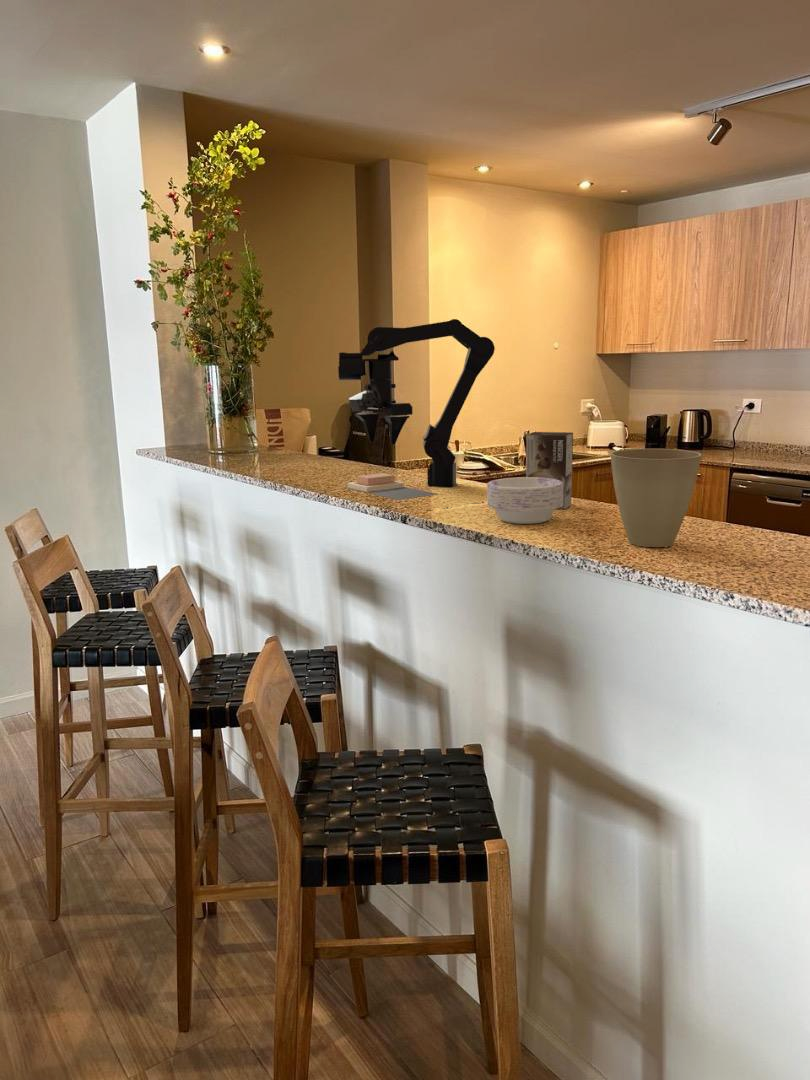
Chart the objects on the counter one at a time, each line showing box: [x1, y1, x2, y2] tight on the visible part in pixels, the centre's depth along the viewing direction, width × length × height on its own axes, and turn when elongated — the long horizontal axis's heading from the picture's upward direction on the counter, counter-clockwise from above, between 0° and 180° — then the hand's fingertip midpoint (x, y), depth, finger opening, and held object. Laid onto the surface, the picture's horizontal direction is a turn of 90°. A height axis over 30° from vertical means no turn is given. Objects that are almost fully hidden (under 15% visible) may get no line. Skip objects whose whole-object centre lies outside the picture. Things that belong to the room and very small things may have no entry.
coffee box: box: [525, 431, 574, 510], centre depth 171 cm, size 9×6×16 cm
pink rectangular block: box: [356, 472, 396, 486], centre depth 196 cm, size 8×5×3 cm, turn 126°
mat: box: [343, 480, 439, 501], centre depth 191 cm, size 24×12×2 cm, turn 36°
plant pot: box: [609, 448, 702, 548], centre depth 135 cm, size 15×15×16 cm
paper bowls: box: [486, 476, 563, 525], centre depth 157 cm, size 15×15×8 cm
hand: (382, 442), depth 196 cm, fingers open, 9 cm apart
